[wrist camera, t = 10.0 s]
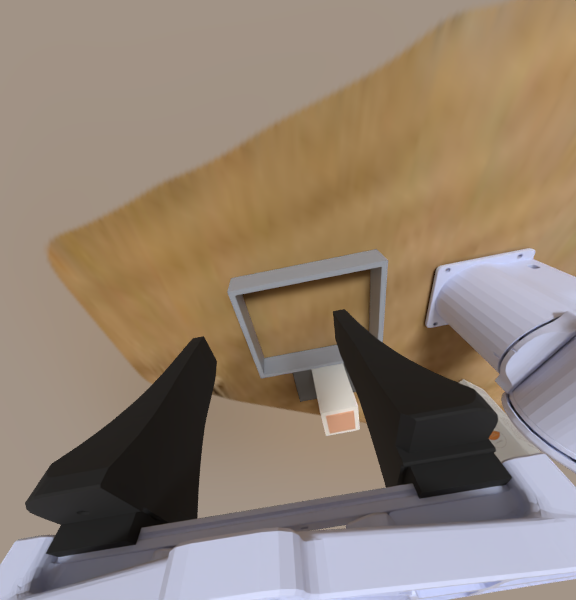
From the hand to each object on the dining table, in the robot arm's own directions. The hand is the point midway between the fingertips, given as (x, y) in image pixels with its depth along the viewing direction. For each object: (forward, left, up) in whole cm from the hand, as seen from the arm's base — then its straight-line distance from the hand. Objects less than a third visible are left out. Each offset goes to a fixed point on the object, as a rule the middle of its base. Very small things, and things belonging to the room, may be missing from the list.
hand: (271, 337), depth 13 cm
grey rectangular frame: (-3, +7, -10) cm, 13 cm away
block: (-4, +18, -10) cm, 21 cm away
